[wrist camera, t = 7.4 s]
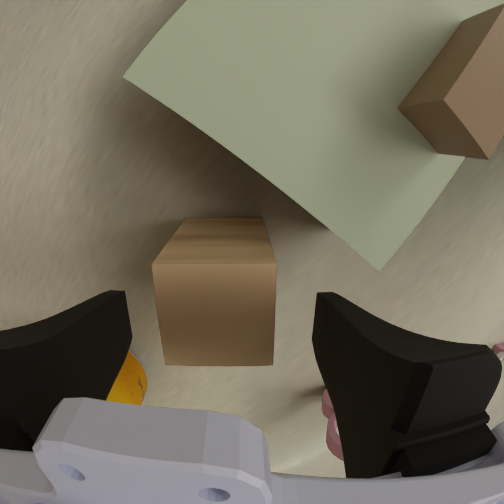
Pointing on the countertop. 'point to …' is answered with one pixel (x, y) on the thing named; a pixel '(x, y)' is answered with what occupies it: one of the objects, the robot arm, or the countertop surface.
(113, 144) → the countertop surface
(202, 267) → the oak key block
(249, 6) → the lid
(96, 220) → the countertop surface
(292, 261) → the countertop surface
